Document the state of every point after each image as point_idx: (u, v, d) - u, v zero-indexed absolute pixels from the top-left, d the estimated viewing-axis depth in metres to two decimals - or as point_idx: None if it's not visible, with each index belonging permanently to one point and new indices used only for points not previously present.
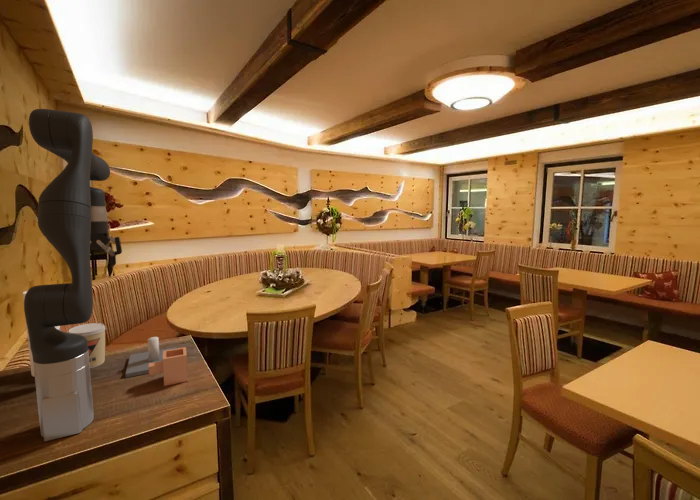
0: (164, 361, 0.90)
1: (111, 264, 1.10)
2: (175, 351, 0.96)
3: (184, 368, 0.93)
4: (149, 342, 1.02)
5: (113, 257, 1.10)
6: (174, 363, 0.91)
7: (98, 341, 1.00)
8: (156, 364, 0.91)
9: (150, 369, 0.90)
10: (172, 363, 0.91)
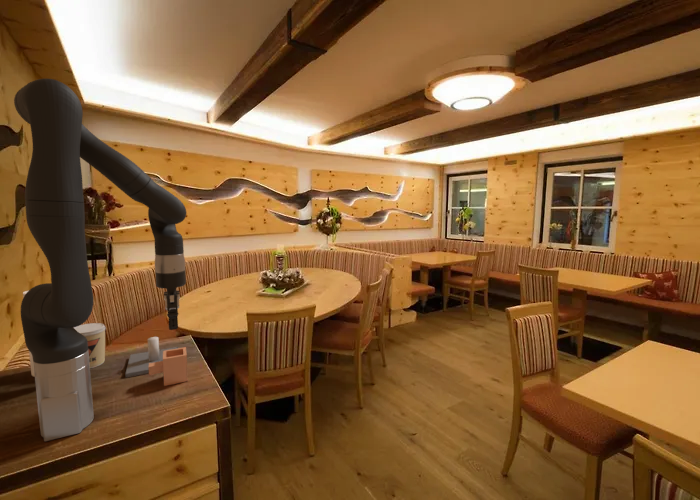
0: (164, 361, 0.90)
1: None
2: (175, 351, 0.96)
3: (184, 368, 0.93)
4: (149, 342, 1.02)
5: (175, 308, 0.97)
6: (174, 363, 0.91)
7: (98, 341, 1.00)
8: (156, 364, 0.91)
9: (150, 369, 0.90)
10: (172, 363, 0.91)
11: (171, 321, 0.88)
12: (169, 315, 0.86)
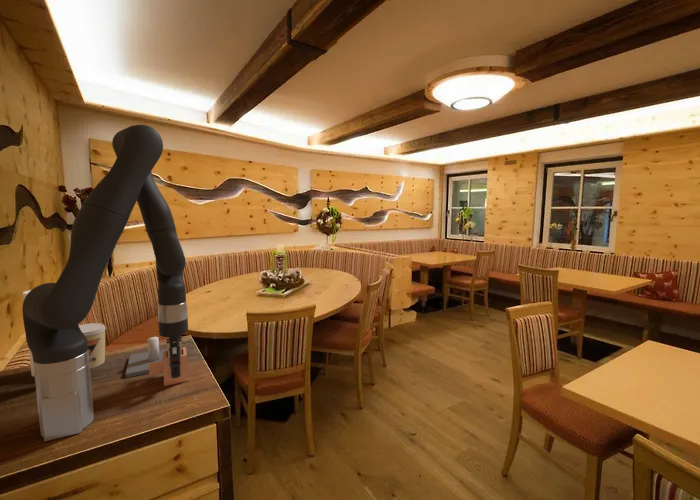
0: (164, 361, 0.90)
1: None
2: None
3: (184, 368, 0.93)
4: (149, 342, 1.02)
5: None
6: None
7: (98, 341, 1.00)
8: (156, 364, 0.91)
9: (150, 369, 0.90)
10: None
11: (173, 370, 0.90)
12: (172, 365, 0.88)
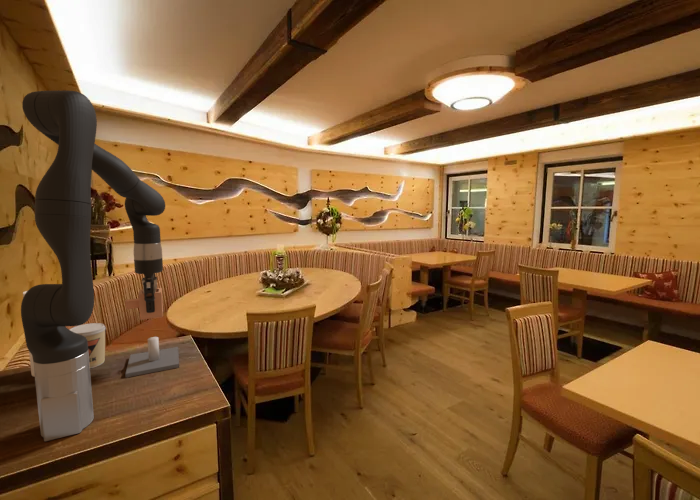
0: (140, 296, 0.97)
1: None
2: None
3: (159, 304, 1.00)
4: (149, 342, 1.02)
5: None
6: None
7: (98, 341, 1.00)
8: (132, 300, 0.99)
9: (127, 304, 0.97)
10: None
11: (148, 305, 0.97)
12: (146, 299, 0.95)
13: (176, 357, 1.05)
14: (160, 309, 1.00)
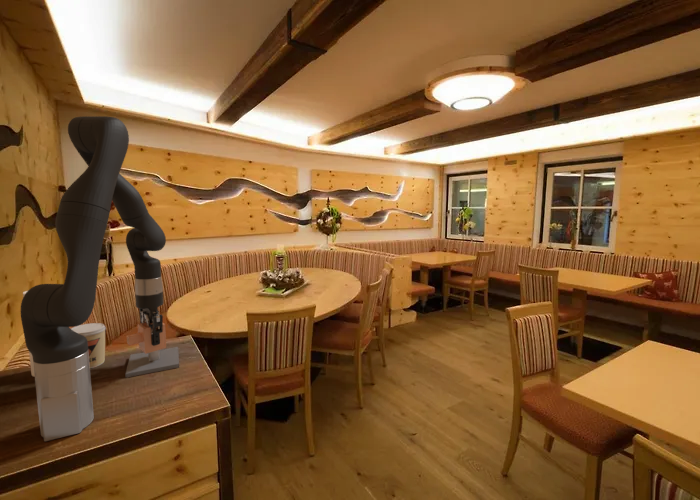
0: (145, 331, 0.99)
1: None
2: None
3: (163, 336, 1.03)
4: None
5: None
6: None
7: (98, 341, 1.00)
8: (135, 335, 0.99)
9: (130, 340, 0.97)
10: None
11: (155, 338, 1.00)
12: (155, 332, 0.98)
13: (176, 357, 1.05)
14: (164, 340, 1.03)
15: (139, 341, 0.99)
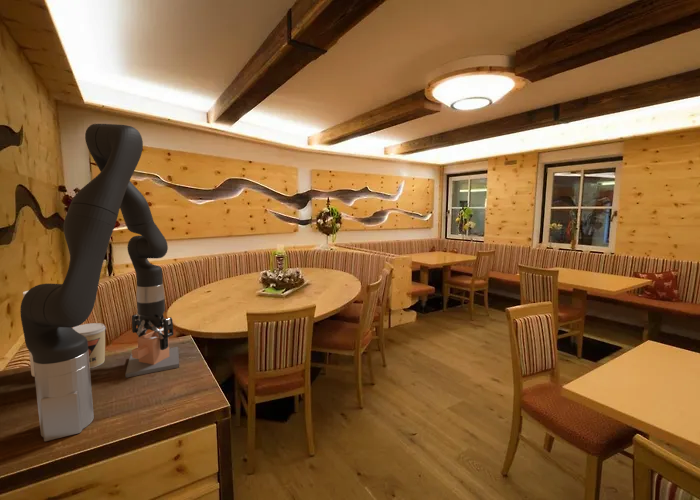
0: (153, 342, 1.00)
1: None
2: (148, 335, 1.04)
3: None
4: None
5: None
6: None
7: (98, 341, 1.00)
8: (141, 348, 0.99)
9: (139, 353, 0.97)
10: (159, 342, 1.02)
11: (165, 342, 1.01)
12: (168, 336, 1.00)
13: (176, 357, 1.05)
14: (167, 349, 1.05)
15: (146, 353, 0.99)
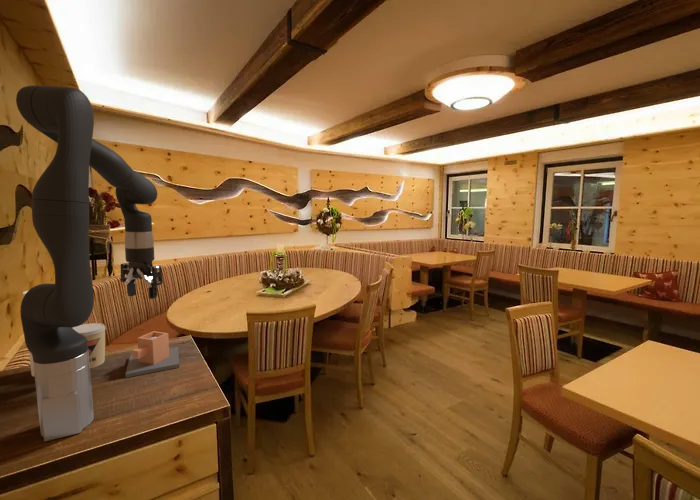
0: (153, 342, 1.00)
1: None
2: (148, 335, 1.04)
3: (167, 345, 1.05)
4: None
5: None
6: (160, 342, 1.02)
7: (98, 341, 1.00)
8: (141, 348, 0.99)
9: (139, 353, 0.97)
10: (159, 342, 1.02)
11: (153, 290, 0.99)
12: (157, 284, 0.98)
13: (176, 357, 1.05)
14: (167, 349, 1.05)
15: (146, 353, 0.99)
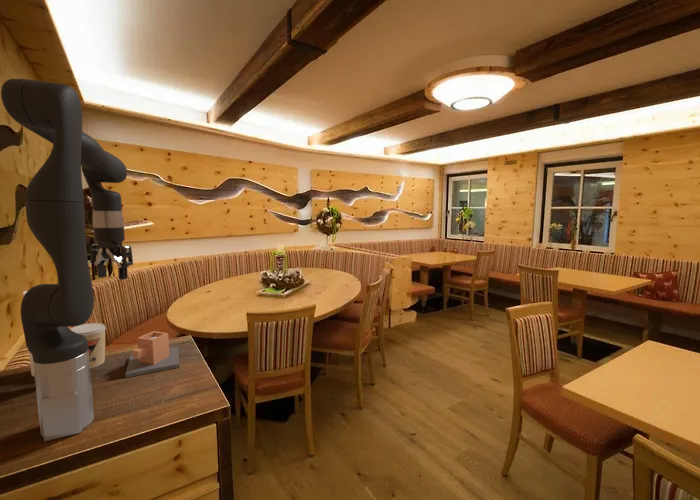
0: (153, 342, 1.00)
1: None
2: (148, 335, 1.04)
3: (167, 345, 1.05)
4: None
5: None
6: (160, 342, 1.02)
7: (98, 341, 1.00)
8: (141, 348, 0.99)
9: (139, 353, 0.97)
10: (159, 342, 1.02)
11: (123, 271, 0.97)
12: (126, 264, 0.96)
13: (176, 357, 1.05)
14: (167, 349, 1.05)
15: (146, 353, 0.99)
